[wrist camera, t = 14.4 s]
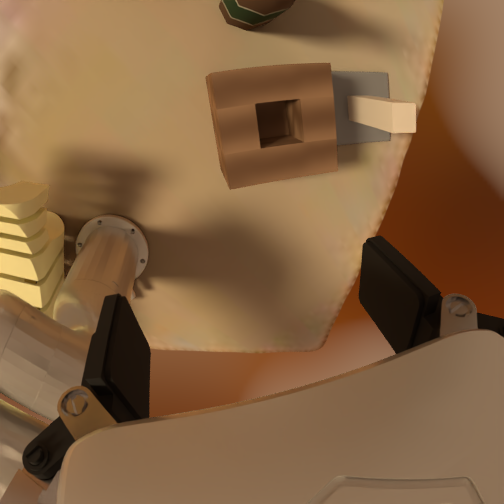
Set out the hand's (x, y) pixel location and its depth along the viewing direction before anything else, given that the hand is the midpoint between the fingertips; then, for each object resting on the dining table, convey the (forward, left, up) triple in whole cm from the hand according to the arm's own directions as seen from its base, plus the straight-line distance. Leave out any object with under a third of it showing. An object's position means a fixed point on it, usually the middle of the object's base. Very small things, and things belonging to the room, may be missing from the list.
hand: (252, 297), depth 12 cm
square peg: (+2, -25, -36) cm, 44 cm away
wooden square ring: (+2, -9, -36) cm, 37 cm away
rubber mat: (+2, -25, -36) cm, 44 cm away
